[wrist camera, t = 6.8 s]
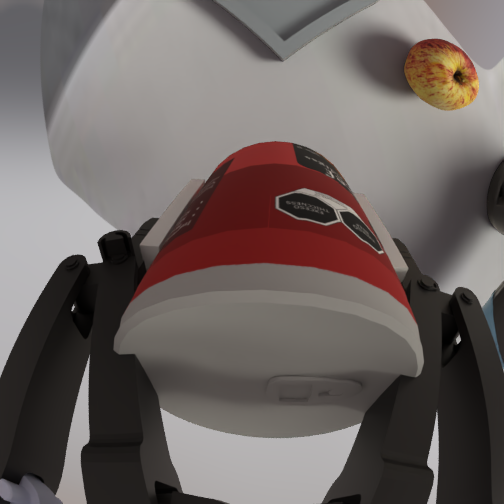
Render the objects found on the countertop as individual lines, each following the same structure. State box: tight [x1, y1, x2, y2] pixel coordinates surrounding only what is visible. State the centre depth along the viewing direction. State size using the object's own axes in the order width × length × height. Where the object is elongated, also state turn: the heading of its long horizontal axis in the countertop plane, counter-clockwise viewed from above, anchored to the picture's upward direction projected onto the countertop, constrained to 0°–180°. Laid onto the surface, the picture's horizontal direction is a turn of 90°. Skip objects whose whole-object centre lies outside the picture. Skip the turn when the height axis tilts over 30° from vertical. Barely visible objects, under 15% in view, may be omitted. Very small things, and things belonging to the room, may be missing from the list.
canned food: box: [113, 141, 424, 438], centre depth 10 cm, size 8×8×11 cm
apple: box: [404, 39, 479, 110], centre depth 20 cm, size 9×9×10 cm
